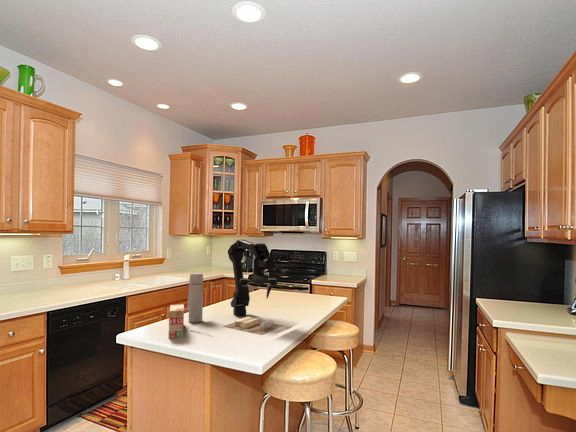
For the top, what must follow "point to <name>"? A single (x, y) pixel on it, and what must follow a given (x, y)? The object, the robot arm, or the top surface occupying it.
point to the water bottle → (195, 297)
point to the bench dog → (266, 325)
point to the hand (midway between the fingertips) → (257, 298)
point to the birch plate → (246, 322)
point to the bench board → (253, 328)
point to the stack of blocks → (176, 321)
